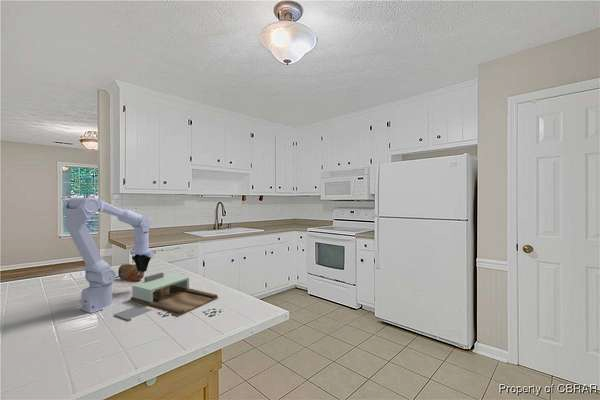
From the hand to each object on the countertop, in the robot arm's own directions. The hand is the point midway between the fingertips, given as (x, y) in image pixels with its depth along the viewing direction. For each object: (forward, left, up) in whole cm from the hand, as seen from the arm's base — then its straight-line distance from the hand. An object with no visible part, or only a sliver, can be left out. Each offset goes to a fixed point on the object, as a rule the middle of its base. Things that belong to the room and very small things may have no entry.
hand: (142, 271), depth 126 cm
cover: (0, -14, -7) cm, 16 cm away
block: (0, -14, -9) cm, 17 cm away
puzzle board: (0, -22, -9) cm, 24 cm away
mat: (-16, -20, -9) cm, 27 cm away
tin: (+8, +22, -10) cm, 25 cm away
